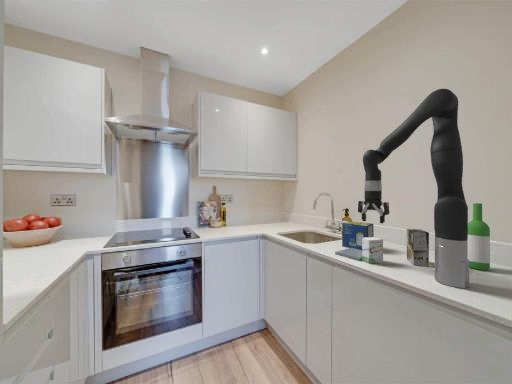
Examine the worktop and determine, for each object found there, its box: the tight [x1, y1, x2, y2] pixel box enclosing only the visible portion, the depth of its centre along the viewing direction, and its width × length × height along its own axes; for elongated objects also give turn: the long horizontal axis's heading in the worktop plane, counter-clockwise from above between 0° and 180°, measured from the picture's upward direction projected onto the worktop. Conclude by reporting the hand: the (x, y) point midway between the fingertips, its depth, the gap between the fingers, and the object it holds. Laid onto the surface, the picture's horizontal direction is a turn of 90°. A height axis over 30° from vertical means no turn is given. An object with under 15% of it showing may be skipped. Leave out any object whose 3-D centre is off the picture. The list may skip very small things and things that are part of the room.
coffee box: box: [406, 228, 430, 267], centre depth 101 cm, size 9×6×16 cm
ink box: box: [361, 236, 384, 264], centre depth 103 cm, size 8×5×12 cm, turn 103°
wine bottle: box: [468, 202, 491, 271], centre depth 95 cm, size 8×8×30 cm
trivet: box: [334, 248, 362, 262], centre depth 114 cm, size 14×16×1 cm
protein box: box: [341, 220, 375, 250], centre depth 129 cm, size 10×15×16 cm
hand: (372, 222), depth 103 cm, fingers open, 8 cm apart
